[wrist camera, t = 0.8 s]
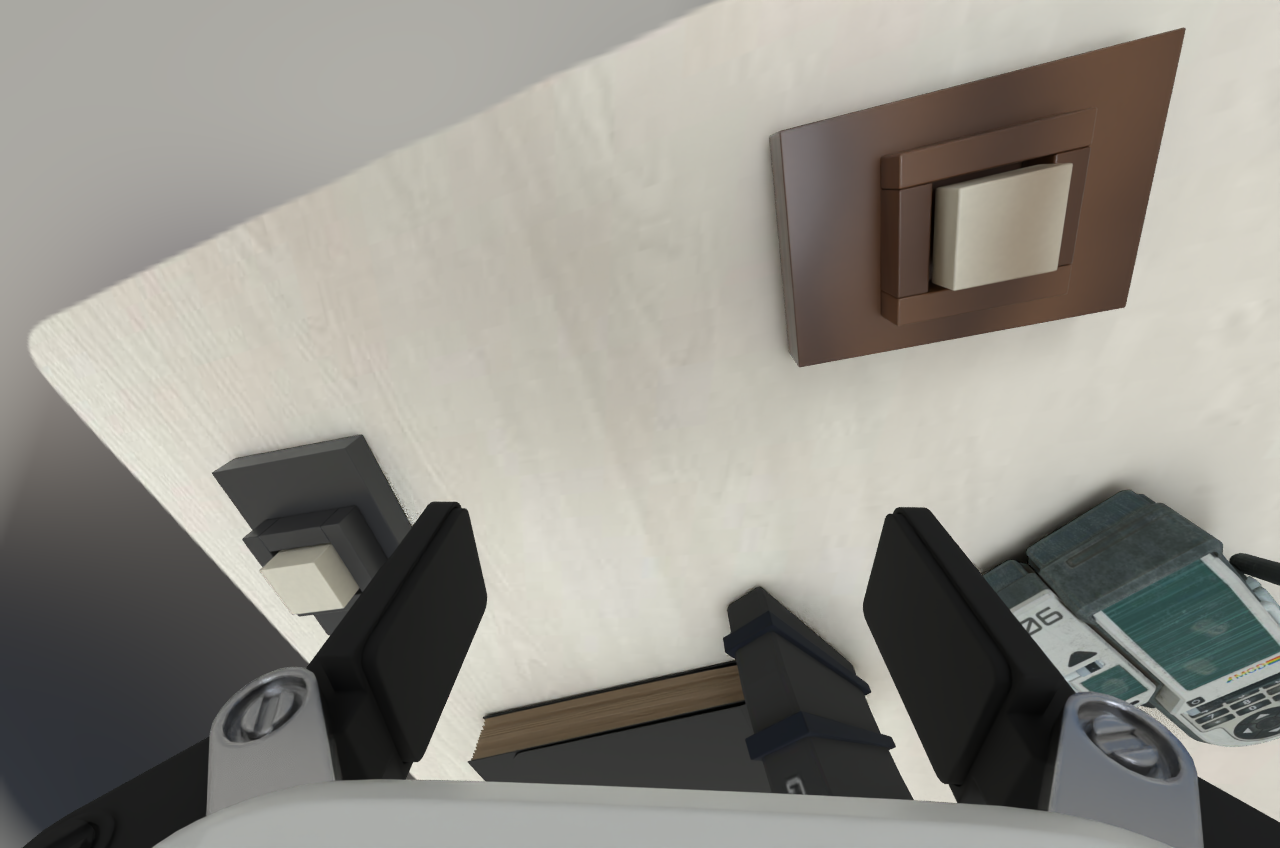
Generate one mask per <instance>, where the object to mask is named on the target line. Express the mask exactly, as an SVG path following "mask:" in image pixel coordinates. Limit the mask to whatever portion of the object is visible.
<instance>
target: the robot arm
mask: <svg viewBox="0 0 1280 848" xmlns="http://www.w3.org/2000/svg"><path fill="white" fill-rule="evenodd" d="M486 604H487V592H486V588H485V583H484V579H483V574H482V570H481V566H480V561H479V557H478V552H477V548H476V543H475V539H474V534H473V530H472V525H471V521H470V517H469V513H468V510H467V509H465V508H461V505H460V504H459V503H458V502H431V503H430V504H429V505H428V506H427V507H426V509H425V510H424V511H423V513H422V514H421V516H420V517H419V518H418V520H417V521H416V522H415V524H414V525H413V526H412V528H411V529H410V530H409V532H408V533H407V535H406V536H405V537H404V539H403V540H402V541H401V543H400V544H399V545H398V547H397V548H396V550H395V551H394V552H393V554H392V555H391V556H390V558H389V559H388V560H387V562H385V563H384V565H383V566H382V567H381V568H380V569H379V570H378V572H377V573H376V574H375V576H374V577H373V579H372V580H371V581H370V583H369V584H368V585H367V587H366V588H365V589H364V591H363V592H362V593H361V595H360V596H359V597H358V599H357V600H356V601H355V603H354V604H353V606H352V607H351V608H350V610H349V611H348V612H347V614H346V615H345V616H344V618H343V619H342V620H341V622H340V623H339V624H338V626H337V627H336V629H335V630H334V631H333V633H332V634H331V635H330V637H329V638H328V639H327V641H326V642H325V643H324V645H323V646H322V647H321V649H320V650H319V652H318V653H317V654H316V656H315V657H314V658H313V660H312V661H311V662H310V664H309V665H308V666H307V668H301V667H288V668H283V669H278V670H275V671H273V672H270V673H268V674H265V675H263V676H261V677H259V678H257V679H256V680H254V681H252V682H250V683H249V684H247V685H246V686H245V687H243V688H242V689H241V690H239V691H238V692H237V693H236V694H234V695H233V696H232V697H231V698H230V700H229V701H228V702H227V703H226V704H225V705H224V706H223V707H222V708H221V710H220V711H219V713H218V715H217V716H216V718H215V720H214V721H213V724H212V728H211V732H210V736H209V737H208V738H206V739H204V740H202V741H200V742H199V743H197V744H195V745H193V746H191V747H189V748H188V749H186V750H184V751H183V752H180V753H179V754H177V755H175V756H173V757H171V758H170V759H168V760H166V761H164V762H162V763H161V764H159V765H157V766H155V767H153V768H152V769H150V770H148V771H146V772H144V773H143V774H141V775H139V776H137V777H136V778H134V779H132V780H130V781H128V782H126V783H124V784H122V785H121V786H119V787H117V788H115V789H113V790H112V791H110V792H108V793H106V794H104V795H103V796H101V797H99V798H97V799H95V800H94V801H92V802H90V803H88V804H86V805H85V806H83V807H81V808H79V809H77V810H75V811H74V812H72V813H70V814H68V815H67V816H65V817H63V818H62V819H61V820H59V821H57V822H56V823H54V824H53V825H51V826H50V827H48V828H46V829H45V830H43V831H42V832H41V833H40V834H39V835H37V836H36V837H35V838H34V839H32V840H31V841H30V842H29V843H27V844H26V845H25V846H24V847H23V848H1280V822H1278V821H1276V820H1274V819H1273V818H1271V817H1269V816H1267V815H1265V814H1264V813H1262V812H1260V811H1258V810H1257V809H1255V808H1253V807H1251V806H1249V805H1248V804H1246V803H1244V802H1242V801H1241V800H1239V799H1237V798H1235V797H1233V796H1232V795H1230V794H1228V793H1226V792H1224V791H1223V790H1221V789H1219V788H1217V787H1216V786H1214V785H1212V784H1210V783H1208V782H1207V781H1205V780H1203V779H1201V778H1199V777H1198V776H1197V771H1196V768H1195V765H1194V762H1193V759H1192V757H1191V756H1190V754H1189V753H1188V751H1187V750H1186V748H1185V747H1184V746H1183V744H1182V743H1181V742H1180V741H1179V740H1178V739H1177V738H1176V737H1175V736H1174V735H1173V734H1172V733H1171V732H1170V731H1169V730H1168V729H1167V728H1166V727H1165V726H1164V725H1162V724H1161V723H1160V722H1158V721H1157V720H1156V719H1154V718H1153V717H1152V716H1150V715H1149V714H1148V713H1146V712H1144V711H1143V710H1141V709H1139V708H1137V707H1135V706H1134V705H1132V704H1130V703H1128V702H1126V701H1123V700H1121V699H1118V698H1116V697H1113V696H1111V695H1107V694H1103V693H1098V692H1093V691H1089V692H1078V693H1076V692H1075V691H1074V690H1073V689H1072V687H1071V686H1070V685H1069V684H1068V682H1067V681H1066V680H1065V679H1064V677H1063V675H1062V674H1061V673H1060V672H1059V670H1058V669H1057V668H1056V667H1055V665H1054V664H1053V663H1052V662H1051V660H1050V659H1049V658H1048V657H1047V656H1046V654H1045V653H1044V652H1043V651H1042V649H1041V648H1040V647H1039V646H1038V644H1037V643H1036V642H1035V641H1034V639H1033V638H1032V637H1031V636H1030V634H1029V633H1028V632H1027V631H1026V629H1025V628H1024V627H1023V626H1022V624H1021V623H1020V622H1019V621H1018V619H1017V618H1016V617H1015V616H1014V614H1013V613H1012V612H1011V611H1010V609H1009V608H1008V607H1007V606H1006V604H1005V603H1004V602H1003V601H1002V599H1001V598H1000V597H999V596H998V595H997V593H996V592H995V591H994V590H993V588H992V587H991V586H990V585H989V583H988V582H987V581H986V580H985V578H984V577H983V576H982V575H981V573H980V572H979V571H978V570H977V568H976V567H975V566H974V565H973V563H972V562H971V561H970V560H969V558H968V557H967V556H966V555H965V553H964V552H963V551H962V550H961V548H960V547H959V546H958V545H957V543H956V542H955V541H954V540H953V538H952V537H951V536H950V535H949V534H948V532H947V531H946V530H945V529H944V527H943V526H942V525H941V524H940V522H939V521H938V520H937V519H936V517H935V516H934V515H933V514H932V512H931V511H930V510H929V509H927V508H917V507H899V508H896V509H895V510H894V512H893V514H888V515H887V516H886V518H885V521H884V525H883V529H882V533H881V536H880V540H879V544H878V548H877V552H876V556H875V559H874V563H873V567H872V571H871V575H870V579H869V582H868V586H867V590H866V594H865V598H864V602H863V612H864V617H865V619H866V622H867V624H868V626H869V629H870V631H871V633H872V635H873V637H874V639H875V642H876V644H877V646H878V648H879V650H880V653H881V655H882V657H883V659H884V661H885V664H886V666H887V668H888V670H889V672H890V675H891V677H892V679H893V681H894V683H895V686H896V688H897V690H898V692H899V694H900V697H901V699H902V701H903V703H904V705H905V708H906V710H907V712H908V714H909V716H910V718H911V721H912V723H913V725H914V727H915V729H916V732H917V734H918V736H919V738H920V740H921V743H922V745H923V747H924V749H925V751H926V754H927V756H928V758H929V760H930V762H931V765H932V767H933V769H934V771H935V773H936V775H937V777H938V778H939V780H940V781H941V782H942V783H944V784H949V786H950V788H951V790H952V792H953V795H954V797H955V799H956V801H957V803H948V802H933V801H918V800H901V799H880V798H860V797H839V796H819V795H798V794H778V793H756V792H733V791H710V790H687V789H664V788H640V787H616V786H592V785H565V784H538V783H511V782H485V781H450V780H406V777H407V775H408V773H409V771H410V768H411V766H412V764H413V762H419V761H420V760H421V759H422V757H423V755H424V753H425V751H426V749H427V747H428V744H429V742H430V740H431V737H432V735H433V732H434V730H435V728H436V725H437V723H438V721H439V718H440V716H441V713H442V711H443V709H444V706H445V704H446V702H447V699H448V697H449V694H450V692H451V690H452V687H453V685H454V683H455V680H456V678H457V676H458V673H459V671H460V668H461V666H462V664H463V661H464V659H465V657H466V654H467V652H468V649H469V647H470V645H471V642H472V640H473V638H474V635H475V633H476V630H477V628H478V626H479V623H480V621H481V619H482V616H483V614H484V611H485V609H486Z"/></svg>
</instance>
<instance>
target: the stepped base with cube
mask: <svg viewBox="0 0 1280 848" xmlns="http://www.w3.org/2000/svg"><path fill="white" fill-rule="evenodd" d="M212 474H213V476H214V477H215V478H216V480H217V481H218V483H219V484H220V485H221V487H222V488H223V490H224V491H225V492H226V494H227V495H228V496H229V498H230V499H231V501H232V502H233V503H234V505H235V506H236V508H237V509H238V510H239V512H240V513H241V515H242V516H243V517H244V519H245V520H246V522H247V523H248V524H249V526H250V527H251V529H252V531H251V532H250V533H249V534H248V535H246V536H245V537H244V538H243V539H242V540H243V541H244V543H245V544H246V546H247V547H248V548H249V550H250V551H251V552H252V554H253V555H254V556H255V558H256V559H257V560H258V562H259V563H260V564H261V566H262V567H264V566H265V565H266V564H267V563H268V562H269V561H270V560H271V559H272V558H273V557H274V556H275V555H276V554H277V553H278V552H280V551H281V550H286V549H293V548H299V547H306V546H312V545H319V544H325V543H331V544H332V545H333V547H334V549H335V550H336V552H337V553H338V555H339V556H340V558H341V559H342V561H343V563H344V564H345V566H346V567H347V569H348V570H349V572H350V574H351V575H352V577H353V578H354V580H355V581H356V583H357V585H358V586H359V589H358V591H357V592H356V593H355V594H354V596H353V597H352V598H351V600H350V601H349V602H348V604H347V605H346V606H345V607H344V608H341V609H333V610H326V611H318V612H310V613H303V614H297V615H298V616H307V615H314V616H315V618H316V619H317V621H318V622H319V623H320V625H321V626H322V627H323V629H324V630H325V632H326V633H327V634H328V635H331V634H332V633H333V631H334V630H335V629H336V627H337V626H338V624H339V623H340V622H341V620H342V619H343V618H344V616H345V615H346V614H347V612H348V611H349V610H350V608H351V607H352V606H353V604H354V603H355V601H356V600H357V599H358V597H359V596H360V595H361V593H362V592H363V591H364V589H365V588H366V587H367V585H368V584H369V583H370V581H371V580H372V579H373V577H374V576H375V574H376V573H377V572H378V570H379V569H380V568H381V567H382V566H383V565H384V563H385V562H387V560H388V559H389V558H390V556H391V555H392V554H393V552H394V551H395V550H396V548H397V547H398V545H399V544H400V543H401V541H402V540H403V539H404V537H405V536H406V535H407V533H408V532H409V530H410V529H411V528H412V527H411V525H410V523H409V521H408V520H407V518H406V516H405V514H404V512H403V510H402V508H401V506H400V505H399V503H398V501H397V499H396V497H395V495H394V493H393V492H392V490H391V488H390V486H389V484H388V482H387V480H386V478H385V477H384V475H383V473H382V471H381V469H380V467H379V465H378V464H377V462H376V460H375V458H374V456H373V454H372V452H371V450H370V449H369V447H368V445H367V443H366V441H365V439H364V437H363V436H362V435H357V436H352V437H347V438H342V439H336V440H331V441H326V442H320V443H315V444H310V445H305V446H299V447H294V448H289V449H283V450H278V451H273V452H267V453H262V454H257V455H252V456H246V457H241V458H236V459H233V460H232V461H230V462H228V463H227V464H225V465H224V466H222V467H220V468H219V469H217V470H216V471H214V472H213V473H212Z"/></svg>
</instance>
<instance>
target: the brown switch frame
mask: <svg viewBox="0 0 1280 848" xmlns="http://www.w3.org/2000/svg"><path fill="white" fill-rule="evenodd" d="M1185 30H1186V29H1185V28H1180V29H1176V30H1172V31H1168V32H1164V33H1160V34H1157V35H1153V36H1149V37H1145V38H1141V39H1137V40H1133V41H1129V42H1125V43H1121V44H1118V45H1114V46H1110V47H1106V48H1102V49H1098V50H1094V51H1090V52H1086V53H1082V54H1079V55H1075V56H1071V57H1067V58H1063V59H1059V60H1055V61H1051V62H1047V63H1043V64H1039V65H1036V66H1032V67H1028V68H1024V69H1020V70H1016V71H1012V72H1008V73H1004V74H1000V75H997V76H993V77H989V78H985V79H981V80H977V81H973V82H969V83H965V84H961V85H958V86H954V87H950V88H946V89H942V90H938V91H934V92H930V93H926V94H922V95H919V96H915V97H911V98H907V99H903V100H899V101H895V102H891V103H887V104H883V105H880V106H876V107H872V108H868V109H864V110H860V111H856V112H852V113H848V114H844V115H840V116H837V117H833V118H829V119H825V120H821V121H817V122H813V123H809V124H805V125H801V126H798V127H794V128H790V129H786V130H782V131H779V132H777V133H775V134H773V135H771V136H770V149H771V160H772V171H773V182H774V193H775V204H776V215H777V226H778V237H779V248H780V259H781V270H782V281H783V292H784V302H785V313H786V324H787V335H788V346H789V353H790V355H791V356H792V358H793V359H794V361H795V362H796V363H797V365H798V366H799V367H804V366H810V365H815V364H820V363H826V362H831V361H837V360H842V359H847V358H853V357H858V356H864V355H869V354H875V353H880V352H885V351H891V350H896V349H902V348H907V347H913V346H918V345H923V344H929V343H934V342H940V341H945V340H951V339H956V338H961V337H967V336H972V335H978V334H983V333H988V332H994V331H999V330H1005V329H1010V328H1016V327H1021V326H1026V325H1032V324H1037V323H1043V322H1048V321H1054V320H1059V319H1064V318H1070V317H1075V316H1081V315H1086V314H1092V313H1097V312H1102V311H1108V310H1113V309H1119V308H1124V307H1125V306H1126V302H1127V297H1128V293H1129V288H1130V283H1131V279H1132V274H1133V270H1134V265H1135V260H1136V256H1137V251H1138V246H1139V242H1140V237H1141V233H1142V228H1143V223H1144V219H1145V214H1146V210H1147V205H1148V200H1149V196H1150V191H1151V187H1152V182H1153V177H1154V173H1155V168H1156V163H1157V159H1158V154H1159V150H1160V145H1161V140H1162V136H1163V131H1164V127H1165V122H1166V117H1167V113H1168V108H1169V103H1170V99H1171V94H1172V90H1173V85H1174V80H1175V76H1176V71H1177V67H1178V62H1179V57H1180V53H1181V48H1182V44H1183V39H1184V34H1185ZM1059 163H1072V164H1073V167H1072V174H1071V180H1070V187H1069V194H1068V200H1067V207H1066V214H1065V220H1064V227H1063V234H1062V240H1061V247H1060V254H1059V260H1058V267H1057V270H1056V271H1052V272H1047V273H1042V274H1037V275H1032V276H1027V277H1022V278H1017V279H1012V280H1007V281H1002V282H997V283H992V284H987V285H982V286H977V287H972V288H966V289H961V290H956V291H953V290H950V289H947V288H945V287H942V286H939V285H937V284H934V283H932V266H933V241H934V217H935V192H936V189H937V188H938V187H942V186H946V185H951V184H955V183H959V182H964V181H968V180H973V179H977V178H981V177H986V176H990V175H994V174H999V173H1003V172H1008V171H1012V170H1016V169H1021V168H1025V167H1029V166H1034V165H1040V164H1059Z"/></svg>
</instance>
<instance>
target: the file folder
mask: <svg viewBox="0 0 1280 848" xmlns="http://www.w3.org/2000/svg"><path fill="white" fill-rule="evenodd" d="M483 719H484V720H485V721H486V722H484V724H485V726H482V727H483V729H484V730H481V731H482V732H480V733H481V735H480V737H479V740H478V743H477V744H476V745H477V747H476V749H477V750H475V751H474V752H475V753H473V755H474V756H472V757H473V758H471V761H468V763H469V764H470V765H471V766H472V767H473V768H474V770H475V771H476V772H477V773H478V774H479V775H480V776H481V777H482V778H483V779H484V780H485V781H486V782H511V783H538V784H565V785H592V786H616V787H640V788H664V789H687V790H710V791H733V792H756V793H772V792H771V789H770V785H769V782H768V778H767V775H766V772H765V768H764V765H763V762H762V761H755V760H751V759H750V756H749V752H748V749H747V745H746V742H745V739H746V738H747V737H749V736H751V735H753V734H754V731H753V728H752V724H751V720H750V717H749V713H748V709H747V706H746V702H745V699H744V695H743V691H742V687H741V682H740V677H739V672H738V667H737V662H736V661H732V662H728V663H723V664H719V665H714V666H710V667H705V668H701V669H696V670H692V671H687V672H683V673H678V674H674V675H669V676H665V677H660V678H656V679H652V680H647V681H643V682H638V683H634V684H629V685H625V686H620V687H616V688H611V689H607V690H602V691H598V692H593V693H589V694H584V695H580V696H575V697H571V698H566V699H562V700H557V701H553V702H548V703H544V704H539V705H535V706H530V707H526V708H521V709H517V710H512V711H508V712H503V713H499V714H494V715H490V716H485V717H483Z"/></svg>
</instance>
